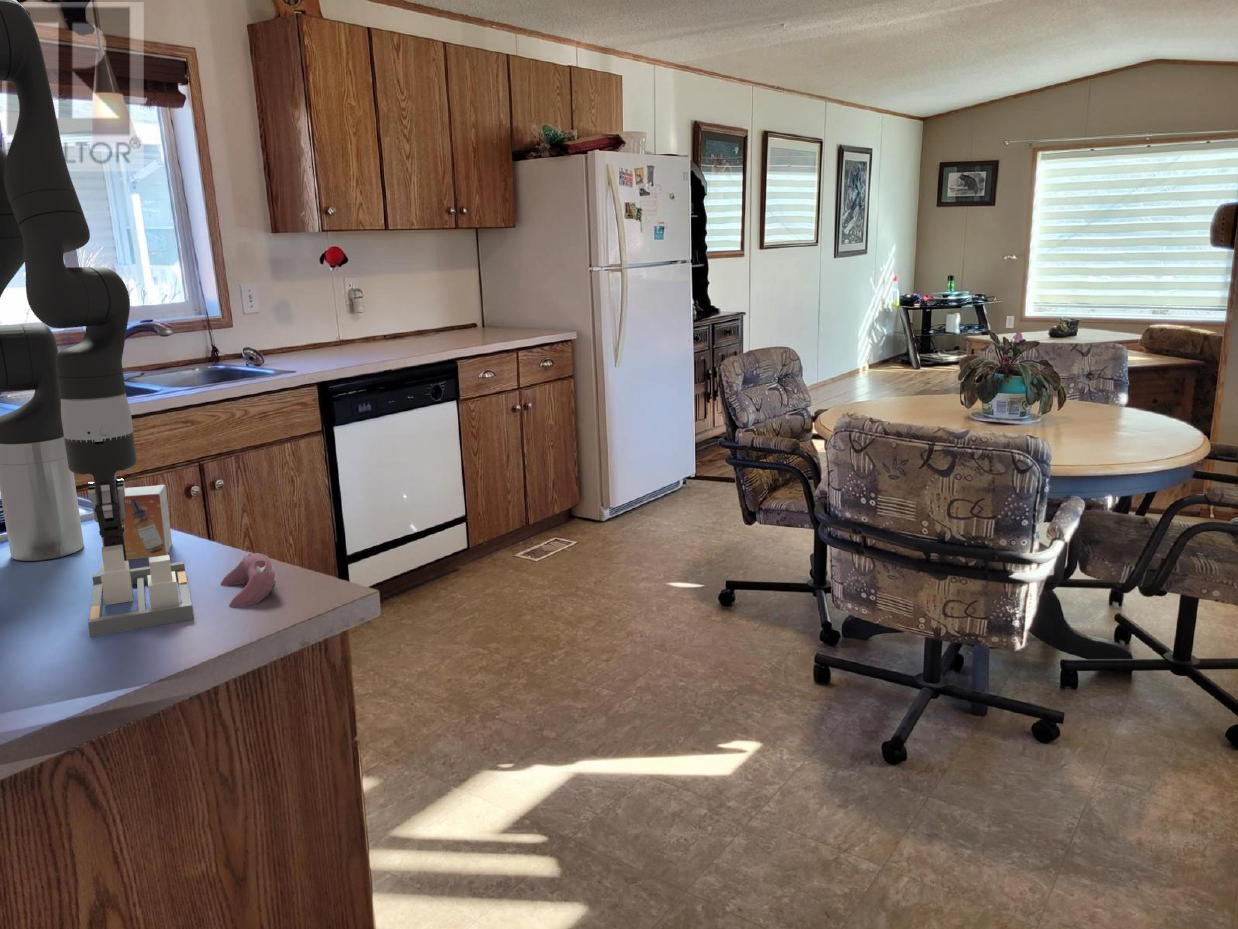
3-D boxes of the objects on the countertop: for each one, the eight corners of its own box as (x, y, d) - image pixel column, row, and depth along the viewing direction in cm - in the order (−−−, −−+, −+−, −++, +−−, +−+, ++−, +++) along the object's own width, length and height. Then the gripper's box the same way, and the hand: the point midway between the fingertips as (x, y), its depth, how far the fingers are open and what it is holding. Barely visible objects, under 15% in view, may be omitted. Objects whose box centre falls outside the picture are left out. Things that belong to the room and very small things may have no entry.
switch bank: (94, 593, 117) (91, 571, 116) (187, 578, 122) (184, 557, 121) (89, 652, 100) (85, 627, 99) (197, 633, 105) (194, 609, 104)
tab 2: (151, 606, 109) (144, 555, 108) (178, 601, 111) (172, 551, 109) (152, 617, 106) (145, 566, 104) (180, 613, 107) (174, 561, 106)
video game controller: (263, 624, 111) (285, 572, 111) (226, 615, 109) (249, 562, 109) (251, 598, 119) (272, 549, 120) (216, 589, 117) (237, 539, 117)
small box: (105, 570, 125) (94, 498, 123) (113, 557, 130) (103, 487, 128) (168, 564, 127) (159, 493, 125) (174, 552, 133) (165, 483, 130)
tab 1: (105, 594, 113) (98, 545, 111) (132, 590, 114) (125, 541, 113) (105, 605, 110) (97, 554, 108) (132, 600, 111) (125, 551, 109)
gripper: (66, 425, 115) (85, 553, 119) (60, 444, 104) (81, 584, 108) (132, 420, 119) (148, 544, 123) (133, 438, 108) (151, 574, 112)
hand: (117, 563), depth 115 cm, fingers closed
